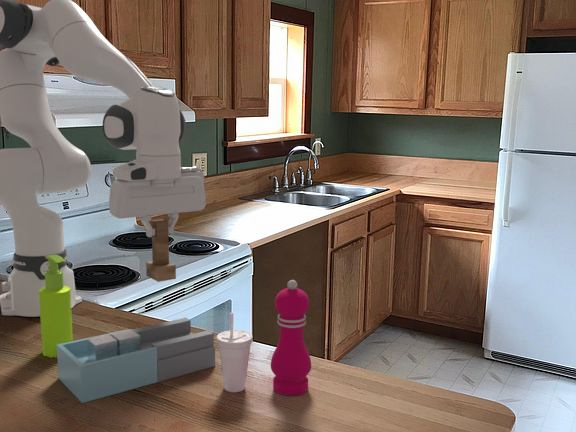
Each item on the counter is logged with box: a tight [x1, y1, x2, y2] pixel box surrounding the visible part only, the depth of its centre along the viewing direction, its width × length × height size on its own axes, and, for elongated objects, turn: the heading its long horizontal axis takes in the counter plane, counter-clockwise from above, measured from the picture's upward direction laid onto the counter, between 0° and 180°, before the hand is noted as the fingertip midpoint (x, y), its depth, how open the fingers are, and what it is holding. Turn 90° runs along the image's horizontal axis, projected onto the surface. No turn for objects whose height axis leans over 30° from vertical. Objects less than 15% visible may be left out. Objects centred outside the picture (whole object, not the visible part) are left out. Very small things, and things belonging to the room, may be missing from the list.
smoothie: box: [216, 311, 254, 393], centre depth 112 cm, size 6×6×14 cm
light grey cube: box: [86, 333, 118, 362], centre depth 114 cm, size 4×4×4 cm
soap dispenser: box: [39, 255, 74, 358], centre depth 126 cm, size 6×7×20 cm
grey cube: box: [110, 328, 141, 356], centre depth 116 cm, size 4×4×4 cm
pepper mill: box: [270, 279, 312, 397], centre depth 111 cm, size 7×7×20 cm
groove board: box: [131, 317, 216, 383], centre depth 122 cm, size 12×12×6 cm
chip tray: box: [56, 328, 159, 404], centre depth 115 cm, size 12×14×6 cm
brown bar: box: [145, 218, 177, 283], centre depth 131 cm, size 6×4×12 cm
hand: (159, 235), depth 131 cm, fingers closed on brown bar, 2 cm apart
